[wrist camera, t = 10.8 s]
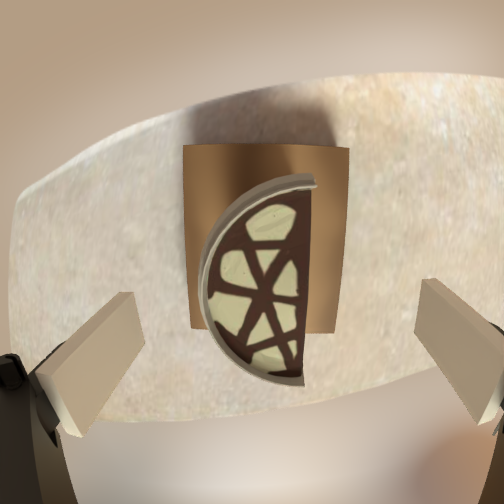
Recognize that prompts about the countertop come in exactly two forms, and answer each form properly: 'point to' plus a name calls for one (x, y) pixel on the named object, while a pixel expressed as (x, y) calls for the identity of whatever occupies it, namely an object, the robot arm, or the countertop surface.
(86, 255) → the countertop surface
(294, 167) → the walnut block
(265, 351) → the food container
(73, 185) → the countertop surface
